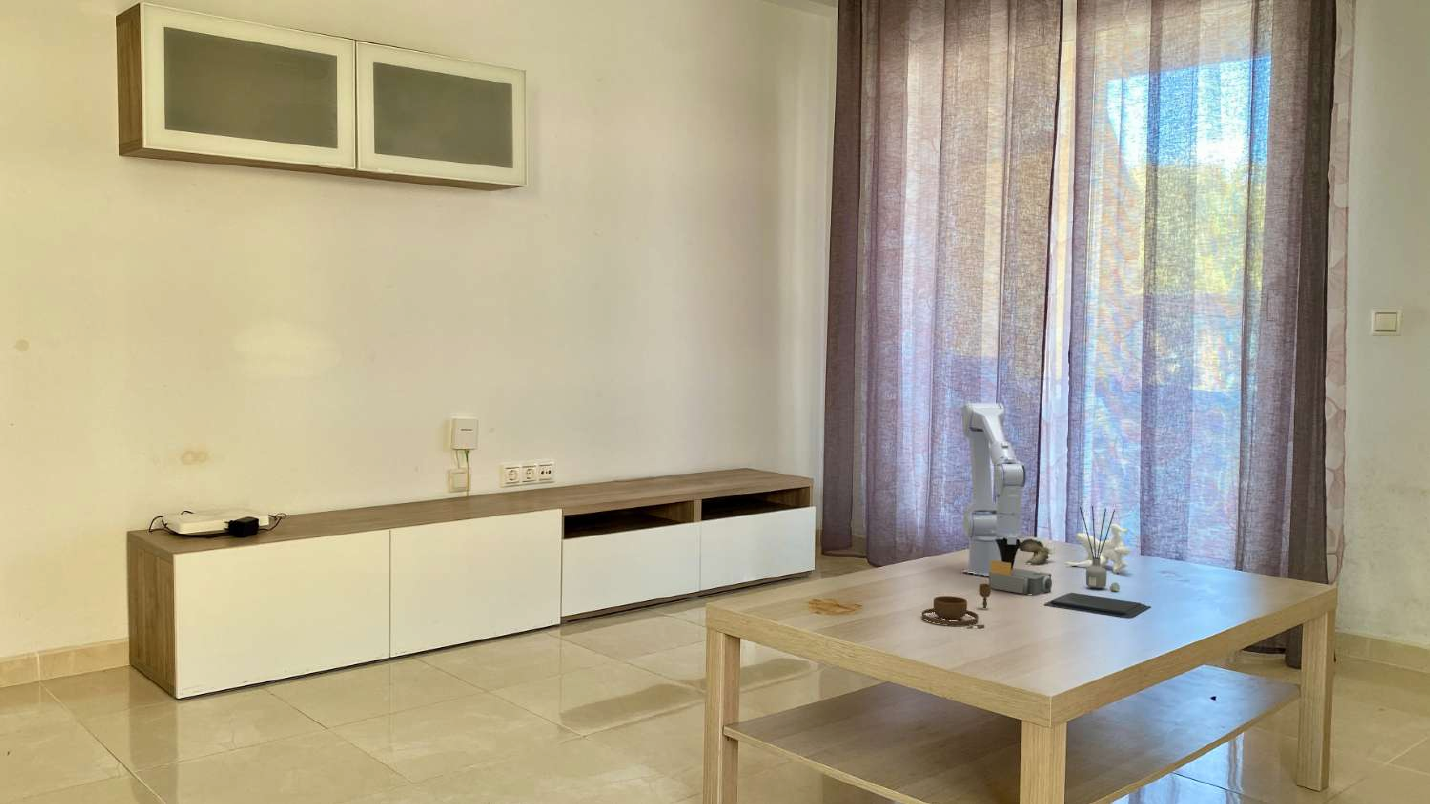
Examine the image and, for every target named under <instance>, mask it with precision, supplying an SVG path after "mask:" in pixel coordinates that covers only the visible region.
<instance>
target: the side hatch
mask: <svg viewBox="0 0 1430 804" xmlns="http://www.w3.org/2000/svg"><path fill="white" fill-rule="evenodd" d="M990 585H991V589H995V590H999V591H1000V590H1001V591H1006V592H1011V593H1016V594H1022V595H1028V578H1024V577H1018V576H1012V575H1011V563H1009V562H1003V561H996V560H991V569H990Z"/></svg>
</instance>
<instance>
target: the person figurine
mask: <svg viewBox="0 0 1430 804" xmlns="http://www.w3.org/2000/svg"><path fill="white" fill-rule="evenodd" d="M1110 529H1111V530H1110V531H1111V534H1112V536H1113V537H1110V538H1109V539H1107V538H1106V540H1105V539H1104V540H1105V543H1104V540H1103V541H1102V540H1101V544H1100V550H1099V555H1100V552H1101V549H1102V546H1103V543H1104V546H1103V550H1102V553H1101V556H1100V558H1101V566H1102V567H1104V566H1105V565H1107V564H1108V563H1109V560H1110V561H1112V562H1113V563H1114V564H1113V565H1112V573H1113V574H1114V573H1118V574H1117V575H1119V574H1120V573H1121V572H1122V570H1124V569H1125V568H1126V567H1128V565H1129V562H1128V561H1123V557H1125V556H1129V555H1130V552H1131V551H1130V547H1128V546H1126V545H1125V544H1124V542H1123V536H1122V534H1123V535H1128V532H1129V531H1128V529H1126V528H1124V527H1121V526H1120V525H1119V524H1117V523H1111V525H1110ZM1120 532H1121V533H1122V534H1120ZM1088 536H1089V539H1090V543H1091V547H1092V551H1093V550H1094V551H1095V549H1094V535H1090V534H1088ZM1088 536H1087V533H1080V532H1079V533H1077V534H1076V538H1077V541H1079V542H1080V543H1081V546H1082V547H1083V548H1084V550H1085V552H1086V553H1087V556H1086V557H1085V558H1084V559H1082V560H1081V561H1083V562H1081V561H1080V562H1078V561H1076V562H1074V561H1073V562H1072V561H1065V566H1066V568H1072V567H1071V566H1078V567H1084V568H1088V567H1090V566H1091V565H1092V560H1093V555H1094V554H1093V555H1092V551H1091V548H1090V544H1089V540H1088ZM1099 543H1100V539H1098V538H1097V537H1095V546H1096V553H1098V549H1099ZM1098 557H1099V556H1098Z"/></svg>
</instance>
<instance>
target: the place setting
mask: <svg viewBox="0 0 1430 804" xmlns="http://www.w3.org/2000/svg"><path fill="white" fill-rule="evenodd" d="M991 589H992V588H991V585H989V583H980V584H979V590H978V592H979V596H980V597H981V598H982V603H981V604H982V608H987V606H988V602H987V599H988V598H989V597H990V596H991V591H992V590H991ZM967 607H968V601H967V599H966V598H963V597H959V596H952V595H951V596H950V595H949V596H947V595H945V596H943V595H942V596H936V597H934V599H933V607H931V608H928V609H924V610H923V611H921V617H922V619H923V618H924V619H926V620H928V621H931V622H935V623H940V624H947V625H968V626H966V627H967V629H972V628H973V626H977V627H978V628H979V629H984V628H985V624H977V623H978V621H979V618H980V617H979V614H978V613H976V612H975V611H971V610H968V608H967ZM932 612H933V613H934V612H935V614H934V615H936V616H938V617H939V618H942V619H945V620H941V619H939V618H934V617H931V616H926V615H924V614H925V613H932ZM965 614H968V615H970V616H972V617H974V618H975V619H972V618H970V619H967V620H966V619H965V620H960V619H962V618H963V617H966V616H965ZM924 619H923V620H924ZM949 620H959V621H949ZM974 623H975V624H974ZM969 624H972V625H969Z"/></svg>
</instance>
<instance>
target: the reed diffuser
mask: <svg viewBox="0 0 1430 804" xmlns="http://www.w3.org/2000/svg"><path fill="white" fill-rule="evenodd" d="M1079 510H1080V514H1081V517H1082V521H1083V524H1084V528H1085V534H1087V536H1088V535H1089V532H1088V529H1087V525H1086V521H1085V517H1084V514H1083V513H1084V512H1083V509H1082V507H1081V506H1080V507H1079ZM1091 511H1092V512H1091V513H1092V515H1091V516H1092V528H1093V537H1094V549H1095V550H1094V552H1093V549H1092V547H1091V543H1090V539H1089V536H1088V540H1089V544H1090V548H1091V551H1092V555H1093V560H1092V565H1091V566H1090V567H1086V570H1085V585H1086V586H1088V587H1092V588H1105V587H1106V585H1107V569H1106V568H1104V566H1101V558H1100V556H1101V553H1102V550H1103V546H1104V543H1105V540H1107V537H1108V533H1109V531H1110V529H1111V525H1112V521H1113V518H1114V515H1115V513H1116V509H1113V512H1112V515H1111V518H1110V521H1109V524H1108V528H1107V530H1106V532H1105V533H1106V534H1105V537H1104V540H1103V541H1104V543H1103V546H1102V549H1101V552H1100V555H1099V550H1100V544H1101V541H1102V536H1103V530H1104V523H1105V517H1106V511H1107V508H1104V511H1103V512H1104V513H1103V516H1102V517H1103V519H1102V524H1101V532H1100V536H1099V541H1100V543H1099V549H1098V552H1097V551H1096V546H1095V538H1096V535H1095V532H1096V531H1095V516H1094V515H1095V514H1094V506H1093V505H1091ZM1098 556H1099V557H1098ZM1109 590H1110V591H1112V592H1119V591H1120V590H1121V585H1120V584H1119V583H1118V582H1113V583H1111V584H1110V586H1109Z"/></svg>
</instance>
